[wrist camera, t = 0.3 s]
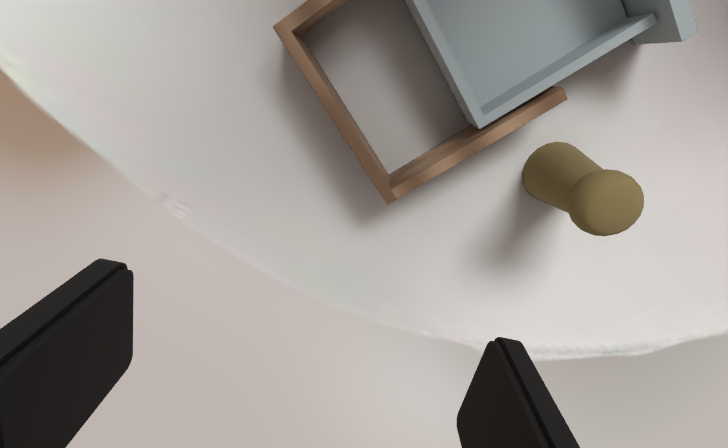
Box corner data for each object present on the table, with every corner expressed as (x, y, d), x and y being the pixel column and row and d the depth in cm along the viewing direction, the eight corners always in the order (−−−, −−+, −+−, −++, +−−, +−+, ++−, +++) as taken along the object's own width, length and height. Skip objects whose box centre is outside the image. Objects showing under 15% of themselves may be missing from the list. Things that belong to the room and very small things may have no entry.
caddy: (458, -97, 31) (473, -125, 27) (542, 94, 37) (567, 99, 32) (285, 31, 35) (272, 26, 30) (385, 188, 40) (387, 204, 36)
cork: (510, 168, 39) (560, 205, 29) (565, 128, 38) (637, 153, 28) (541, 212, 41) (598, 262, 31) (595, 176, 40) (673, 216, 29)
